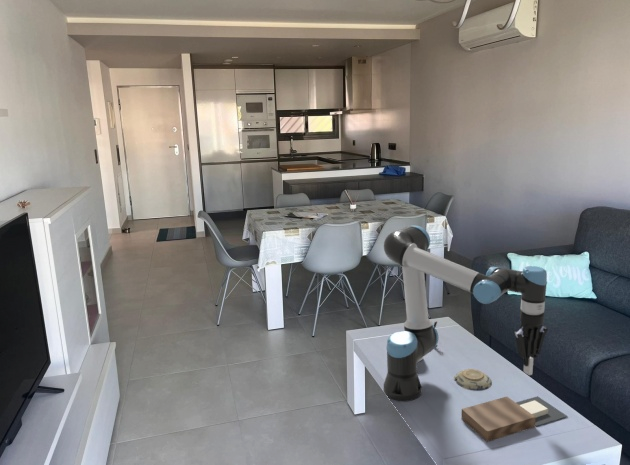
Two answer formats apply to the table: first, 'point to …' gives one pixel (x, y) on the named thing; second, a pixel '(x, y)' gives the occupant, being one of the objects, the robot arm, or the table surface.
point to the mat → (547, 418)
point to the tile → (535, 408)
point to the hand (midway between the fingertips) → (527, 373)
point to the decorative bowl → (473, 379)
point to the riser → (498, 418)
